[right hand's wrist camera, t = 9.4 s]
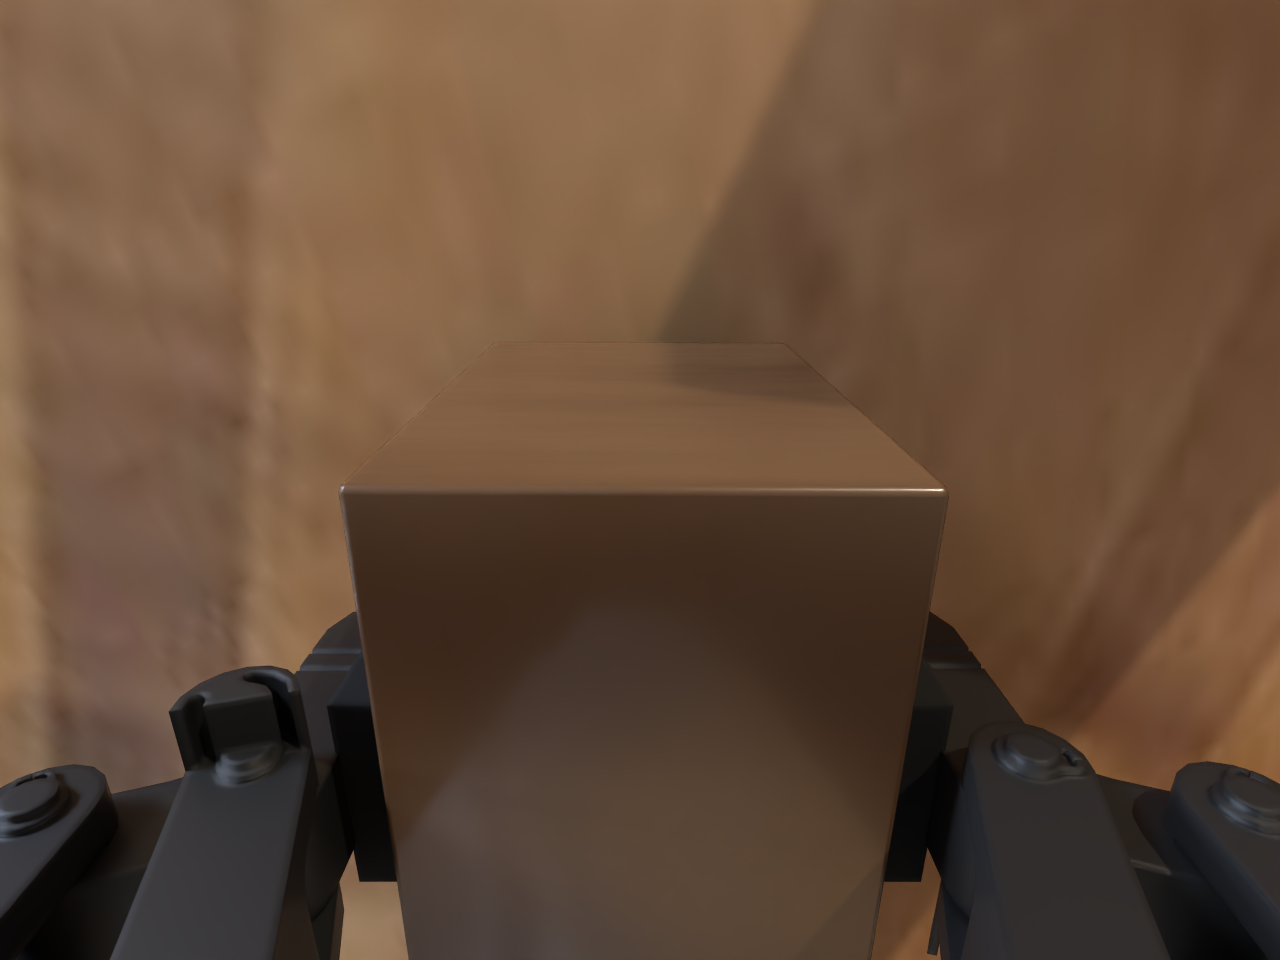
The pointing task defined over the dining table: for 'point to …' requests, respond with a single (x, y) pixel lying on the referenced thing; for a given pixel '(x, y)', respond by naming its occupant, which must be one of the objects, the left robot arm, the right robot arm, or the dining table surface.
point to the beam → (641, 653)
